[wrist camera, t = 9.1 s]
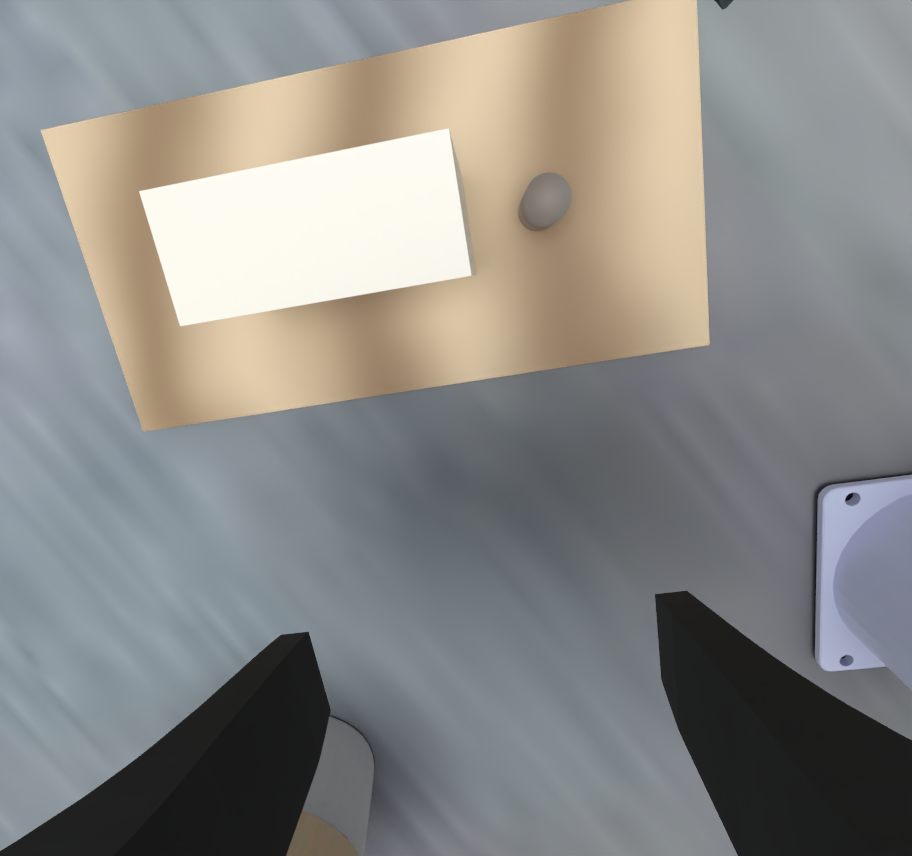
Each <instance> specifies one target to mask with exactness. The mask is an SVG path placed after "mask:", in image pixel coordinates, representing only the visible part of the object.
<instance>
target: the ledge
mask: <svg viewBox="0 0 912 856" xmlns="http://www.w3.org/2000/svg"><path fill="white" fill-rule="evenodd" d="M448 128H449V131H450V134H451V138H452V142H453V145H454V149H455V153H456V156H457V160H458V164H459V167H460V171H461V175H462V181H463V188H464V194H465V201H466V208H467V214H468V221H469V228H470V234H471V241H472V248H473V254H474V261H475V267H476V274H477V275H473V276H467V277H461V278H455V279H450V280H444V281H438V282H432V283H427V284H421V285H415V286H409V287H404V288H398V289H392V290H386V291H381V292H375V293H369V294H363V295H358V296H352V297H346V298H340V299H335V300H329V301H323V302H317V303H312V304H306V305H300V306H294V307H289V308H283V309H277V310H271V311H266V312H260V313H254V314H248V315H243V316H237V317H231V318H225V319H220V320H214V321H208V322H202V323H197V324H191V325H185V326H180V324H179V321H178V318H177V315H176V311H175V308H174V305H173V301H172V298H171V295H170V292H169V288H168V285H167V282H166V278H165V275H164V272H163V269H162V265H161V262H160V259H159V255H158V252H157V249H156V246H155V242H154V239H153V236H152V232H151V229H150V226H149V222H148V219H147V216H146V213H145V209H144V206H143V203H142V199H141V196H140V193H139V191H143V190H148V189H153V188H157V187H162V186H167V185H172V184H177V183H182V182H187V181H192V180H197V179H202V178H207V177H212V176H217V175H221V174H226V173H231V172H236V171H241V170H246V169H251V168H256V167H261V166H266V165H271V164H276V163H280V162H285V161H290V160H295V159H300V158H305V157H310V156H315V155H320V154H325V153H330V152H335V151H340V150H344V149H349V148H354V147H359V146H364V145H369V144H374V143H379V142H384V141H389V140H394V139H399V138H403V137H408V136H413V135H418V134H423V133H428V132H433V131H438V130H443V129H448ZM41 132H42V135H43V138H44V141H45V144H46V147H47V150H48V153H49V156H50V159H51V162H52V165H53V168H54V171H55V174H56V176H57V179H58V182H59V185H60V188H61V191H62V194H63V197H64V200H65V203H66V206H67V209H68V212H69V215H70V218H71V221H72V223H73V226H74V229H75V232H76V235H77V238H78V241H79V244H80V247H81V250H82V253H83V256H84V259H85V262H86V265H87V267H88V270H89V273H90V276H91V279H92V282H93V285H94V288H95V291H96V294H97V297H98V300H99V303H100V306H101V309H102V312H103V314H104V317H105V320H106V323H107V326H108V329H109V332H110V335H111V338H112V341H113V344H114V347H115V350H116V353H117V356H118V359H119V361H120V364H121V367H122V370H123V373H124V376H125V379H126V382H127V385H128V388H129V391H130V394H131V397H132V400H133V403H134V406H135V408H136V411H137V414H138V417H139V420H140V423H141V426H142V429H143V432H144V431H151V430H157V429H164V428H170V427H177V426H183V425H190V424H196V423H203V422H209V421H216V420H222V419H229V418H235V417H242V416H248V415H255V414H262V413H268V412H275V411H281V410H288V409H294V408H301V407H307V406H314V405H320V404H327V403H333V402H340V401H346V400H353V399H359V398H366V397H372V396H379V395H385V394H392V393H398V392H405V391H411V390H418V389H425V388H431V387H438V386H444V385H451V384H457V383H464V382H470V381H477V380H483V379H490V378H496V377H503V376H509V375H516V374H522V373H529V372H535V371H542V370H548V369H555V368H561V367H568V366H574V365H581V364H588V363H594V362H601V361H607V360H614V359H620V358H627V357H633V356H640V355H646V354H653V353H659V352H666V351H672V350H679V349H685V348H692V347H698V346H705V345H710V341H709V314H708V288H707V261H706V234H705V207H704V181H703V154H702V127H701V101H700V74H699V47H698V21H697V0H630V1H626V2H621V3H617V4H612V5H608V6H603V7H599V8H594V9H590V10H585V11H580V12H576V13H571V14H567V15H562V16H558V17H553V18H549V19H544V20H540V21H535V22H530V23H526V24H521V25H517V26H512V27H508V28H503V29H499V30H494V31H490V32H485V33H480V34H476V35H471V36H467V37H462V38H458V39H453V40H449V41H444V42H440V43H435V44H431V45H426V46H421V47H417V48H412V49H408V50H403V51H399V52H394V53H390V54H385V55H381V56H376V57H371V58H367V59H362V60H358V61H353V62H349V63H344V64H340V65H335V66H331V67H326V68H321V69H317V70H312V71H308V72H303V73H299V74H294V75H290V76H285V77H281V78H276V79H272V80H267V81H262V82H258V83H253V84H249V85H244V86H240V87H235V88H231V89H226V90H222V91H217V92H212V93H208V94H203V95H199V96H194V97H190V98H185V99H181V100H176V101H172V102H167V103H162V104H158V105H153V106H149V107H144V108H140V109H135V110H131V111H126V112H122V113H117V114H113V115H108V116H103V117H99V118H94V119H90V120H85V121H81V122H76V123H72V124H67V125H63V126H58V127H53V128H49V129H44V130H41Z"/></svg>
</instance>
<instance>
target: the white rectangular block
mask: <svg viewBox="0 0 912 856" xmlns="http://www.w3.org/2000/svg"><path fill="white" fill-rule="evenodd" d="M139 193H140V196H141V199H142V203H143V206H144V209H145V213H146V216H147V219H148V222H149V226H150V229H151V232H152V236H153V239H154V242H155V246H156V249H157V252H158V255H159V259H160V262H161V265H162V269H163V272H164V275H165V278H166V282H167V285H168V288H169V292H170V295H171V298H172V301H173V305H174V308H175V311H176V315H177V318H178V321H179V324H180V326H185V325H191V324H197V323H202V322H208V321H214V320H220V319H225V318H231V317H237V316H243V315H248V314H254V313H260V312H266V311H271V310H277V309H283V308H289V307H294V306H300V305H306V304H312V303H317V302H323V301H329V300H335V299H340V298H346V297H352V296H358V295H363V294H369V293H375V292H381V291H386V290H392V289H398V288H404V287H409V286H415V285H421V284H427V283H432V282H438V281H444V280H450V279H455V278H461V277H467V276H473V275H477V274H476V267H475V261H474V254H473V248H472V241H471V234H470V228H469V221H468V214H467V208H466V201H465V194H464V188H463V181H462V175H461V171H460V167H459V164H458V160H457V156H456V153H455V149H454V145H453V142H452V138H451V134H450V131H449V128H448V129H443V130H438V131H433V132H428V133H423V134H418V135H413V136H408V137H403V138H399V139H394V140H389V141H384V142H379V143H374V144H369V145H364V146H359V147H354V148H349V149H344V150H340V151H335V152H330V153H325V154H320V155H315V156H310V157H305V158H300V159H295V160H290V161H285V162H280V163H276V164H271V165H266V166H261V167H256V168H251V169H246V170H241V171H236V172H231V173H226V174H221V175H217V176H212V177H207V178H202V179H197V180H192V181H187V182H182V183H177V184H172V185H167V186H162V187H157V188H153V189H148V190H143V191H139Z"/></svg>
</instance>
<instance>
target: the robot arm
mask: <svg viewBox="0 0 912 856" xmlns="http://www.w3.org/2000/svg"><path fill="white" fill-rule="evenodd" d="M850 493H853V497H852V498H851V499H850V500H848V501H845V498H846V496H847V495H848V494H850ZM655 599H656V612H657V626H658V639H659V652H660V666H661V679H662V682H663V685H664V688H665V691H666V694H667V697H668V700H669V703H670V706H671V709H672V712H673V715H674V718H675V720H676V723H677V726H678V729H679V732H680V734H681V736H682V738H683V740H684V742H685V745H686V747H687V749H688V751H689V753H690V755H691V757H692V760H693V762H694V764H695V766H696V768H697V770H698V772H699V774H700V777H701V779H702V781H703V783H704V785H705V787H706V789H707V791H708V793H709V796H710V798H711V800H712V802H713V804H714V806H715V808H716V810H717V812H718V814H719V817H720V819H721V821H722V823H723V825H724V827H725V829H726V831H727V833H728V836H729V838H730V840H731V842H732V844H733V846H734V848H735V850H736V852H737V855H738V856H912V740H910V739H908V738H906V737H904V736H902V735H900V734H898V733H897V732H895V731H893V730H891V729H889V728H888V727H886V726H884V725H882V724H881V723H879V722H877V721H875V720H874V719H872V718H870V717H868V716H866V715H865V714H863V713H861V712H859V711H858V710H856V709H854V708H852V707H851V706H849V705H847V704H846V703H844V702H842V701H841V700H839V699H837V698H836V697H834V696H832V695H831V694H829V693H827V692H826V691H824V690H823V689H821V688H820V687H818V686H817V685H815V684H814V683H812V682H811V681H809V680H807V679H806V678H804V677H803V676H801V675H800V674H798V673H797V672H795V671H794V670H792V669H791V668H789V667H788V666H786V665H785V664H783V663H782V662H780V661H779V660H778V659H776V658H775V657H773V656H772V655H770V654H769V653H768V652H766V651H765V650H764V649H762V648H761V647H759V646H758V645H757V644H755V643H754V642H752V641H751V640H750V639H748V638H747V637H746V636H744V635H743V634H742V633H740V632H739V631H738V630H737V629H735V628H734V627H733V626H731V625H730V624H729V623H727V622H726V621H725V620H724V619H722V618H721V617H720V616H718V615H717V614H716V613H715V612H713V611H712V610H711V609H710V608H708V607H707V606H706V605H704V604H703V603H702V602H701V601H699V600H698V599H697V598H695V597H694V596H693V595H691V594H690V593H689V592H688V591H682V592H672V593H663V594H655ZM845 655H846V657H844V658H843V659H840V658H842V657H843V656H845ZM815 660H816V662H817V663H818V664H819V665H820V666H821V668H822V669H824V670H826V671H842V670H853V669H864V668H875V667H886V666H887V667H888V668H889V669H890V670H891V671H892V672H893V673H894V674H895V675H896V676H897V677H898V678H899V679H900V680H901V681H902V682H903V683H904V684H905V685H906V686H907V687H908V688H909V689H910V690H911V691H912V475H905V476H897V477H889V478H881V479H873V480H865V481H857V482H849V483H841V484H833V485H829V486H827V487H825V488H824V489H822V491H821V492H820V493H819V496H818V519H817V571H816V623H815ZM329 715H330V706H329V703H328V699H327V696H326V692H325V689H324V685H323V682H322V678H321V675H320V671H319V668H318V664H317V660H316V657H315V653H314V650H313V646H312V643H311V639H310V636H309V632H303V633H294V634H285V635H281V636H279V637H278V638H277V639H275V640H274V641H273V642H272V643H271V644H269V645H268V646H267V647H266V648H265V649H264V650H262V651H261V652H260V653H259V654H258V655H257V656H256V657H254V658H253V659H252V660H251V661H250V662H249V663H248V664H247V665H246V666H244V667H243V668H242V669H241V670H240V671H239V672H238V673H237V674H236V675H235V676H233V677H232V678H231V679H230V680H229V681H228V682H227V683H226V684H224V685H223V686H222V687H221V688H220V689H219V690H218V691H217V692H216V693H214V694H213V695H212V696H211V697H210V698H209V699H208V700H207V701H205V702H204V703H203V704H202V705H201V706H200V707H199V708H197V709H196V710H195V711H194V712H193V713H191V714H190V715H189V716H188V717H187V718H185V719H184V720H183V721H182V722H181V723H179V724H178V725H177V726H176V727H175V728H174V729H172V730H171V731H170V732H169V733H168V734H166V735H165V736H164V737H163V738H162V739H160V740H159V741H158V742H157V743H156V744H154V745H153V746H152V747H151V748H149V749H148V750H147V751H146V752H144V753H143V754H142V755H141V756H139V757H138V758H137V759H135V760H134V761H133V762H131V763H130V764H129V765H127V766H126V767H125V768H123V769H122V770H121V771H119V772H118V773H117V774H115V775H114V776H113V777H111V778H110V779H108V780H107V781H106V782H104V783H103V784H102V785H100V786H99V787H97V788H96V789H95V790H93V791H92V792H90V793H89V794H88V795H86V796H85V797H83V798H82V799H80V800H79V801H77V802H76V803H74V804H73V805H71V806H70V807H68V808H67V809H65V810H64V811H62V812H61V813H59V814H57V815H56V816H54V817H53V818H51V819H50V820H48V821H47V822H45V823H44V824H42V825H41V826H39V827H38V828H36V829H35V830H33V831H32V832H30V833H28V834H27V835H25V836H24V837H22V838H21V839H19V840H18V841H16V842H14V843H13V844H11V845H10V846H8V847H6V848H5V849H3V850H1V851H0V856H286V855H287V852H288V849H289V846H290V843H291V841H292V838H293V835H294V832H295V829H296V827H297V824H298V821H299V818H300V815H301V813H302V810H303V807H304V804H305V801H306V798H307V795H308V793H309V790H310V787H311V784H312V781H313V778H314V775H315V772H316V769H317V766H318V763H319V760H320V756H321V752H322V748H323V743H324V739H325V735H326V730H327V725H328V720H329Z"/></svg>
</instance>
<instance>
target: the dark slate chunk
mask: <svg viewBox="0 0 912 856" xmlns="http://www.w3.org/2000/svg"><path fill="white" fill-rule="evenodd" d="M715 1H716V2H717V3H718V5H719V6H720V7H721V8H722V9H725V8H727V7H728V6H729V4H730V3H731V2H732V1H733V0H715Z"/></svg>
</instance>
